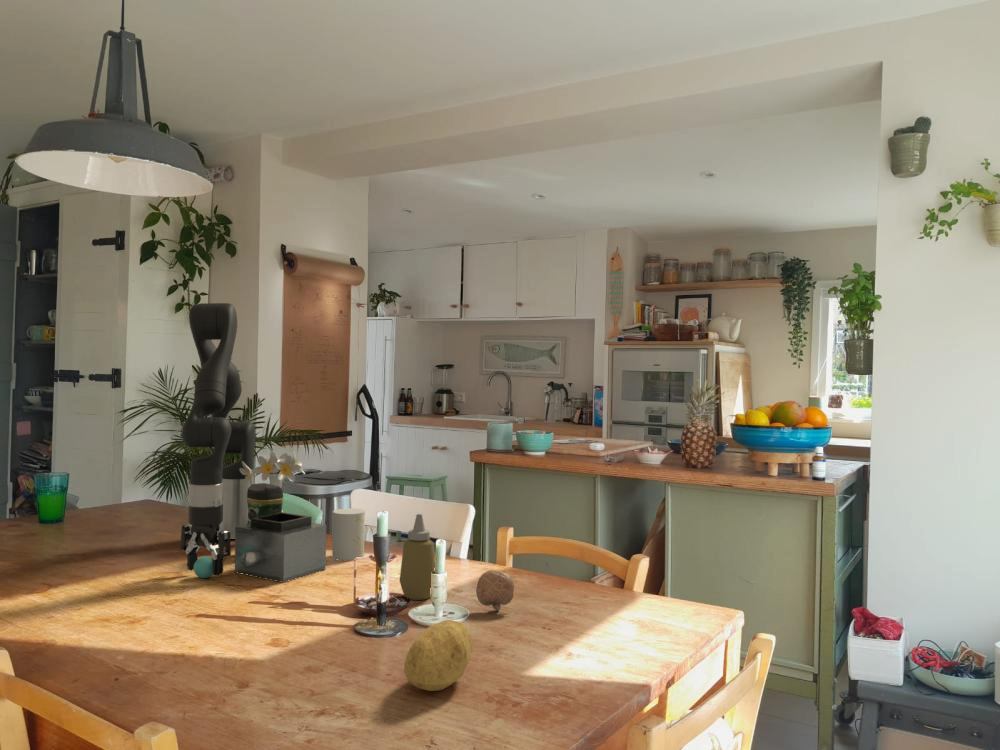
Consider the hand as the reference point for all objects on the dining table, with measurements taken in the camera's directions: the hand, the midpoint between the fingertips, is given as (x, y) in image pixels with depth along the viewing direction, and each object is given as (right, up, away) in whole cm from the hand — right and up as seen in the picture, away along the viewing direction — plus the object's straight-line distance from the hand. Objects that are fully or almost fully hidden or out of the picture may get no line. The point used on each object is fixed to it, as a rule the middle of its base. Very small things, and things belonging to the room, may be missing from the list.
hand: (204, 572), depth 183 cm
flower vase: (+4, -1, +40) cm, 40 cm away
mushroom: (+68, -3, -20) cm, 71 cm away
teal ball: (0, -1, 0) cm, 1 cm away
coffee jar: (+7, -2, +24) cm, 25 cm away
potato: (+59, -3, -59) cm, 83 cm away
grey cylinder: (+29, -2, +23) cm, 37 cm away
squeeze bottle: (+51, -3, -12) cm, 52 cm away
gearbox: (+15, -2, +5) cm, 16 cm away
